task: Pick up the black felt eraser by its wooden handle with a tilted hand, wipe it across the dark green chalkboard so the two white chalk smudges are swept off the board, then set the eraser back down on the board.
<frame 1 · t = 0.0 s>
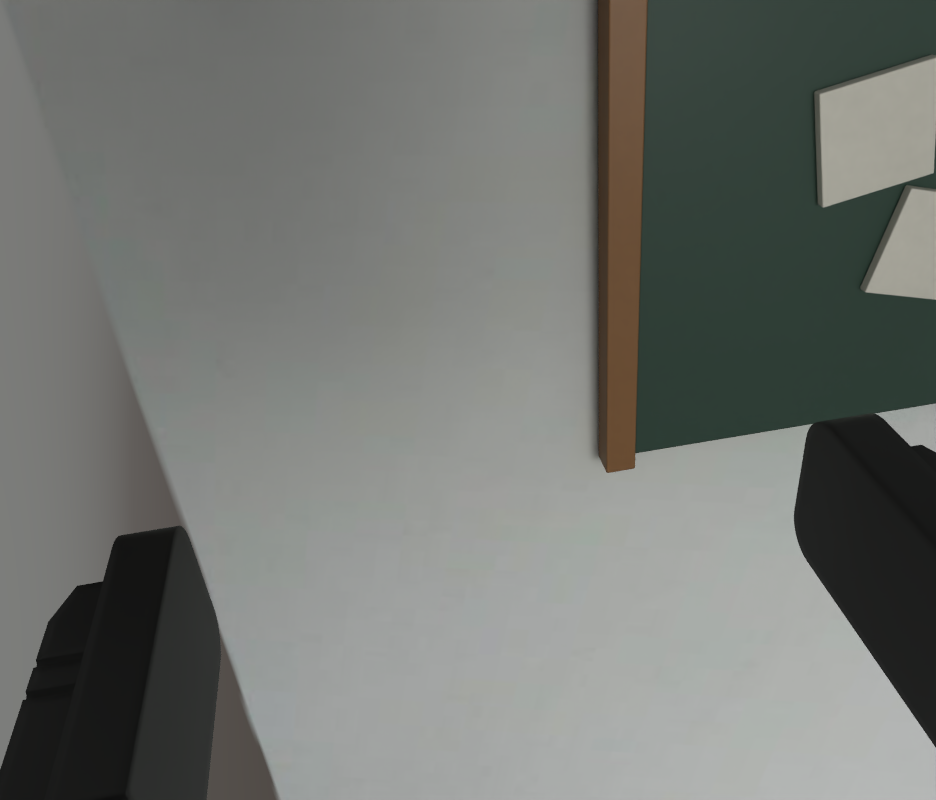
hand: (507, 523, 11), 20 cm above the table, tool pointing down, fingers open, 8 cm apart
chalkboard: (847, 179, 31), on the table
smudge b: (928, 243, 32), point 1 cm above the table, touching chalkboard
smudge a: (872, 131, 29), point 1 cm above the table, touching chalkboard
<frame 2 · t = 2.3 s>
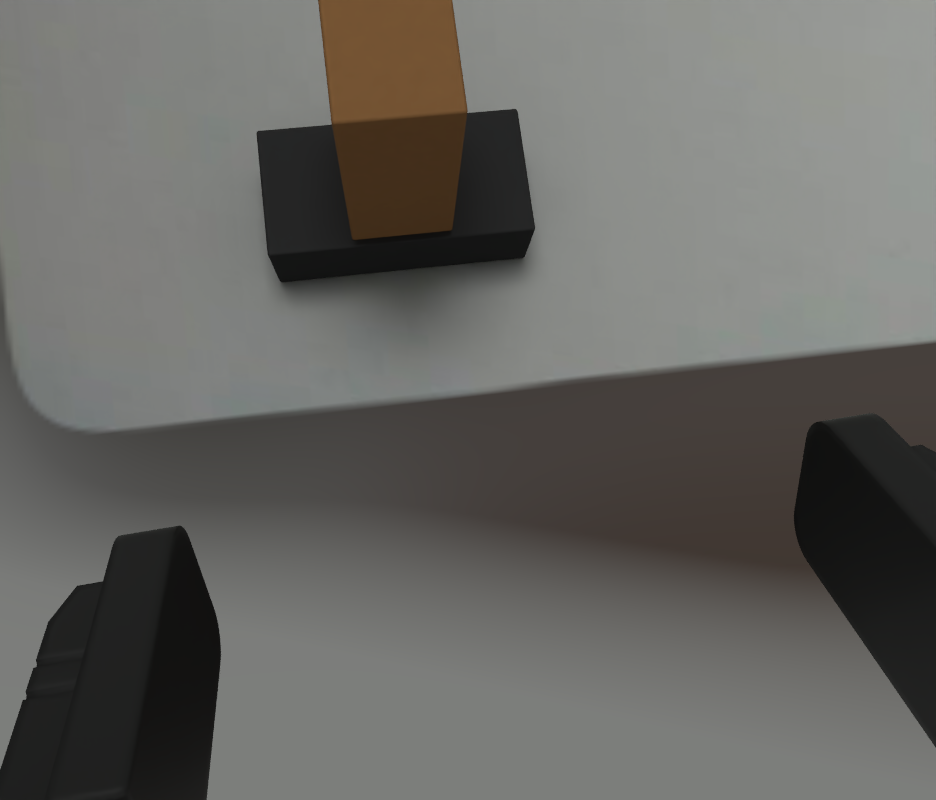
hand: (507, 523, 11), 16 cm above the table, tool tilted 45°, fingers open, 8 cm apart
eraser: (397, 212, 29), on the table
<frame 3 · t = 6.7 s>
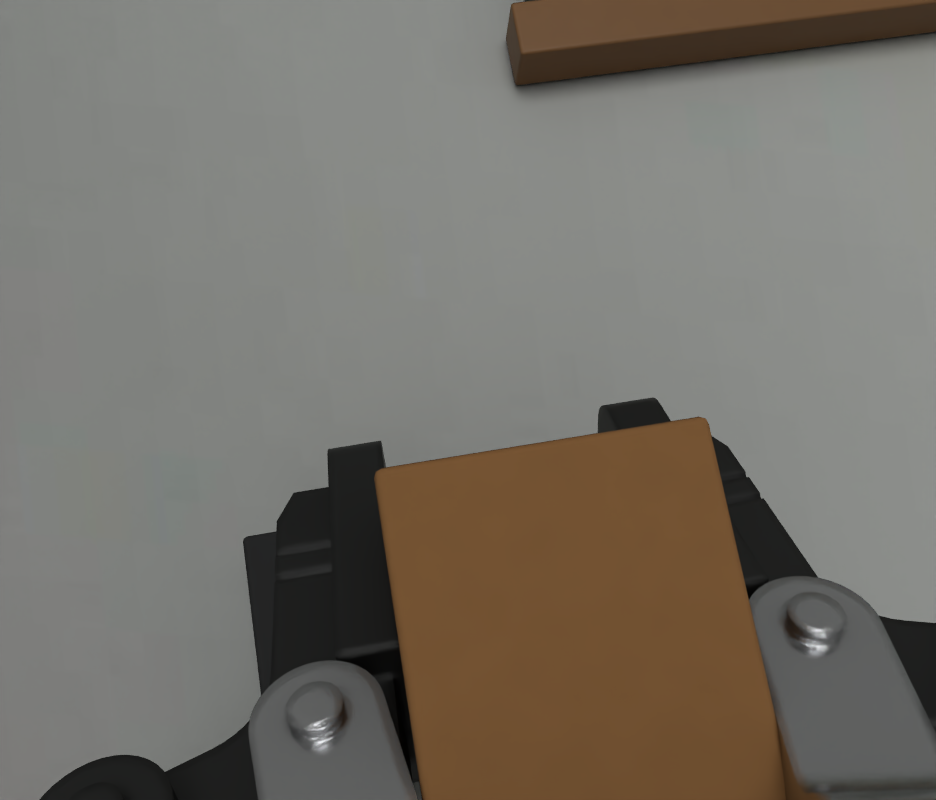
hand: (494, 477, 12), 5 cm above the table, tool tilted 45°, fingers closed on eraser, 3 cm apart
eraser: (493, 613, 17), on the table, touching gripper
when the fingers open (6 cm above the table, at t = 24.5 s): eraser stays where it is, resting on chalkboard.
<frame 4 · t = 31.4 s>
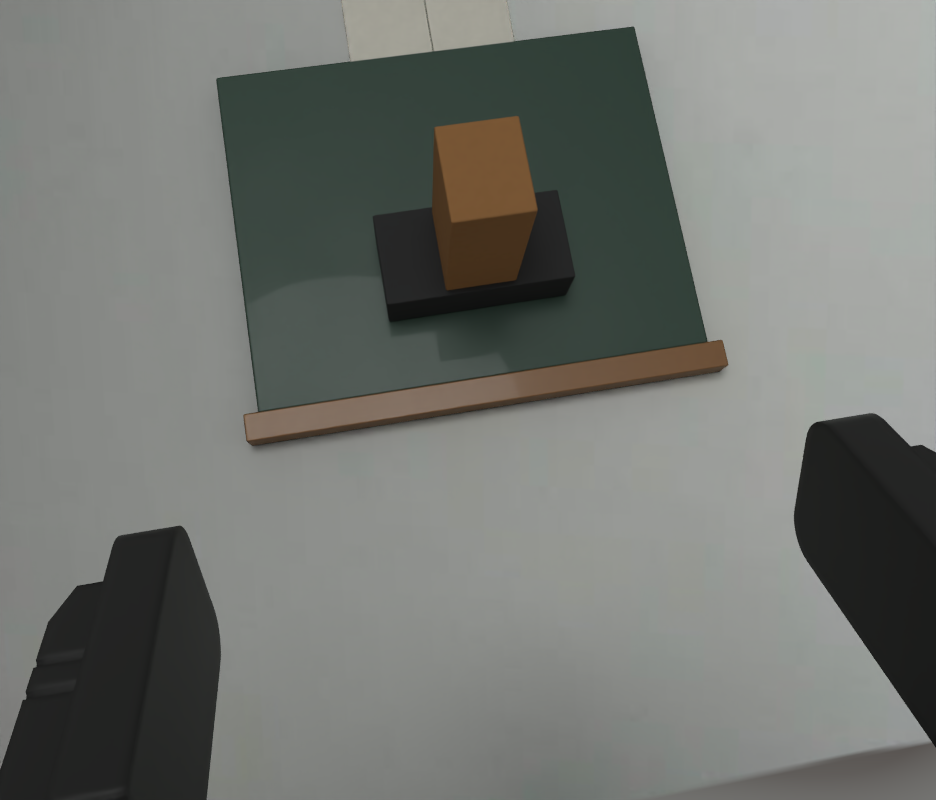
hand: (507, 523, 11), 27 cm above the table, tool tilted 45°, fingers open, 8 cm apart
eraser: (470, 266, 39), point 1 cm above the table, touching chalkboard
chalkboard: (456, 216, 41), on the table
smudge b: (468, 19, 43), on the table
smudge a: (387, 33, 43), on the table
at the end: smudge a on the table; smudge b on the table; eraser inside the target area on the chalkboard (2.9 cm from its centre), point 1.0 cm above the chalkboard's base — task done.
